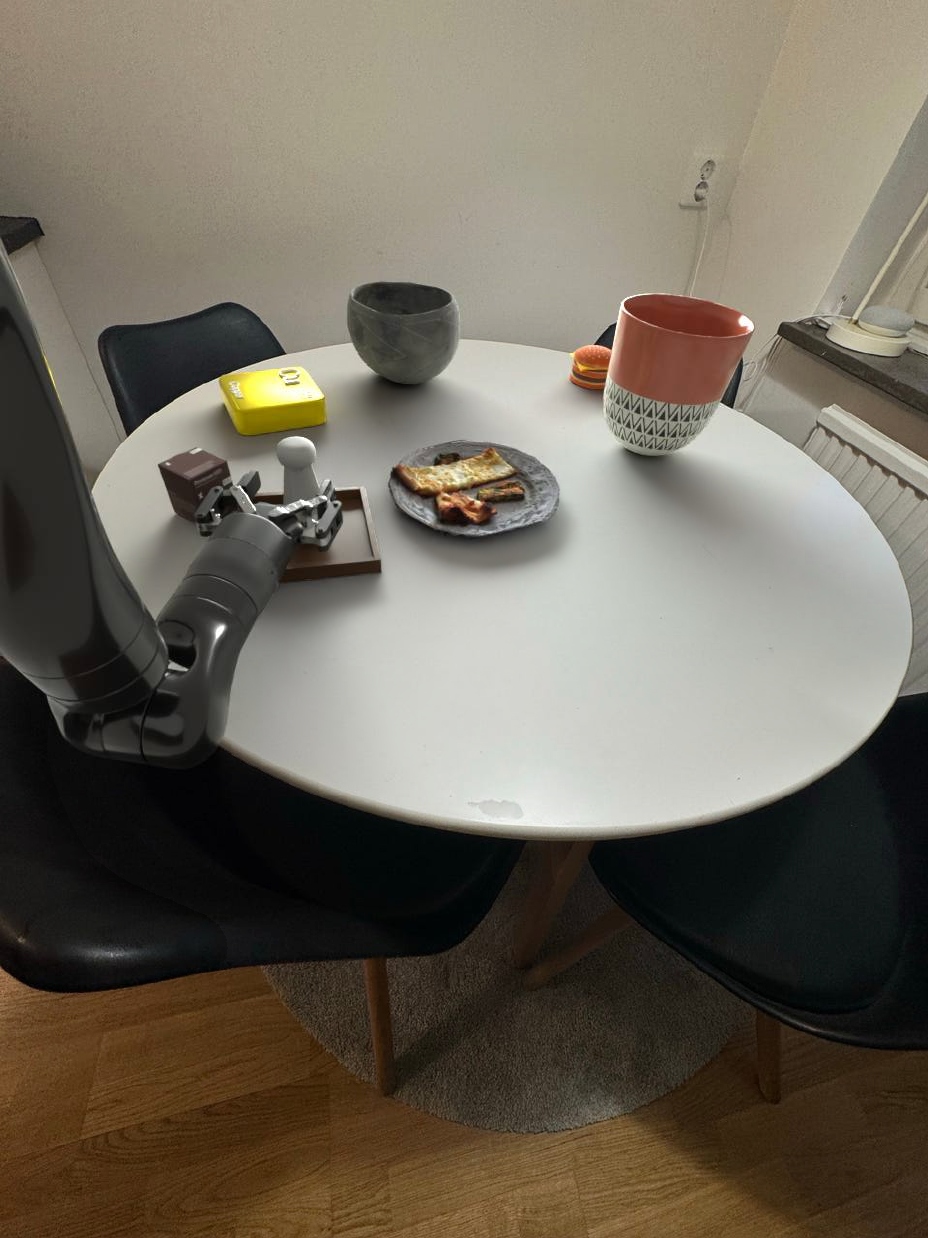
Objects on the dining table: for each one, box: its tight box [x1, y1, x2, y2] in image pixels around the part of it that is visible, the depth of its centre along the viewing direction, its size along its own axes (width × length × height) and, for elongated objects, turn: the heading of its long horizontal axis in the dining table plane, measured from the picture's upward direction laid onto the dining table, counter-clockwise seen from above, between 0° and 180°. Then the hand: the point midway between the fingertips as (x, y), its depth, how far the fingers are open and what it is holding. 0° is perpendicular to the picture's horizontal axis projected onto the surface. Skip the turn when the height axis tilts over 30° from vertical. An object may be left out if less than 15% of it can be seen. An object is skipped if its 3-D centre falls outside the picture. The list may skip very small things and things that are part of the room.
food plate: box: [387, 439, 561, 539], centre depth 80 cm, size 25×23×4 cm
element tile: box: [218, 366, 328, 436], centre depth 93 cm, size 15×15×5 cm
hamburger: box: [569, 344, 612, 390], centre depth 113 cm, size 9×10×7 cm
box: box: [157, 447, 236, 524], centre depth 71 cm, size 6×6×7 cm
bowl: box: [346, 280, 461, 385], centre depth 104 cm, size 21×21×15 cm
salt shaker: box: [276, 436, 321, 544], centre depth 66 cm, size 6×6×13 cm
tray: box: [251, 485, 382, 584], centre depth 71 cm, size 17×17×2 cm
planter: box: [602, 293, 756, 457], centre depth 88 cm, size 20×20×21 cm
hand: (292, 481), depth 63 cm, fingers open, 8 cm apart
